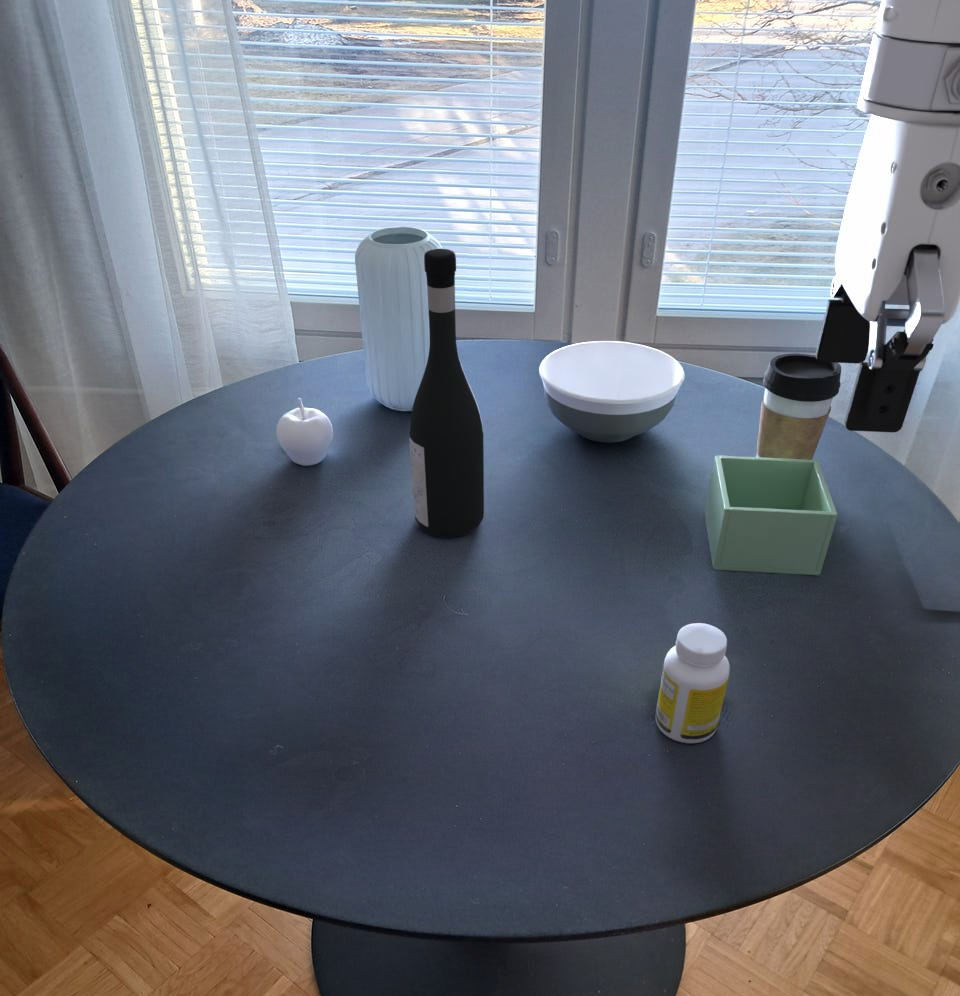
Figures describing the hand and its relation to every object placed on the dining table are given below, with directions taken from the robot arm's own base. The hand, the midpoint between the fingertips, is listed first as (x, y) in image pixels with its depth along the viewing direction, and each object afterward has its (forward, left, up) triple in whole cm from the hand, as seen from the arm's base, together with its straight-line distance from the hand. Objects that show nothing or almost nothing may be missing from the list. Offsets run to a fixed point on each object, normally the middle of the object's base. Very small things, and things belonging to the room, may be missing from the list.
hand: (854, 393), depth 57 cm
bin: (-4, -30, -32) cm, 44 cm away
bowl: (+13, -56, -32) cm, 66 cm away
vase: (+41, -62, -32) cm, 81 cm away
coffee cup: (-8, -44, -32) cm, 55 cm away
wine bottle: (+31, -31, -32) cm, 55 cm away
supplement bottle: (+6, -1, -32) cm, 33 cm away
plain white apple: (+51, -44, -32) cm, 75 cm away
